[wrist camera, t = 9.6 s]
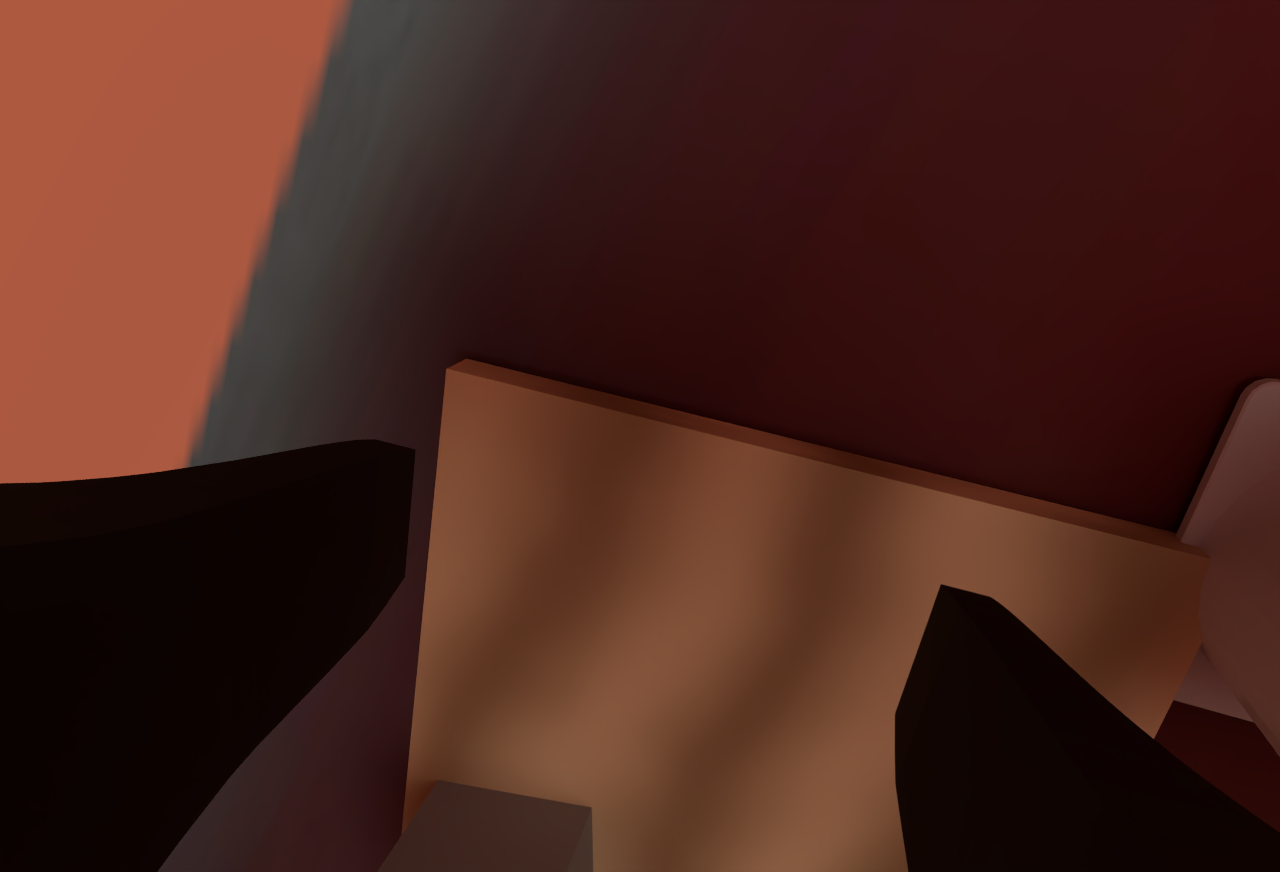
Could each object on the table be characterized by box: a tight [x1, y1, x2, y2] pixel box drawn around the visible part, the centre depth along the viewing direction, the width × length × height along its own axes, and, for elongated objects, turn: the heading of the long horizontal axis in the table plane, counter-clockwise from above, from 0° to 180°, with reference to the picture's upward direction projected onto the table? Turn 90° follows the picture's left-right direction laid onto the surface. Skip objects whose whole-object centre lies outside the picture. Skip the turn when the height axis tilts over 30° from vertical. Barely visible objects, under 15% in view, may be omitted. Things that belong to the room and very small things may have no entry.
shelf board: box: [402, 359, 1211, 872], centre depth 23 cm, size 19×22×4 cm
